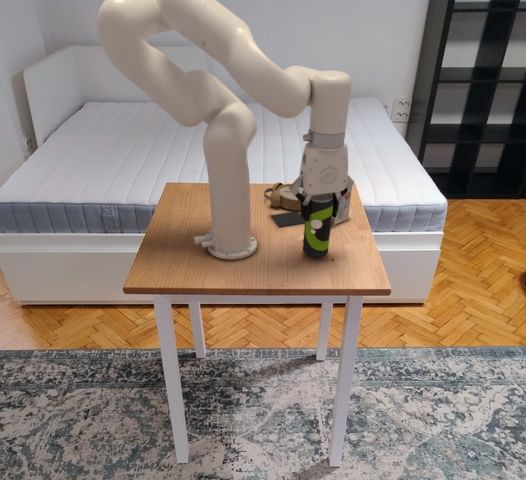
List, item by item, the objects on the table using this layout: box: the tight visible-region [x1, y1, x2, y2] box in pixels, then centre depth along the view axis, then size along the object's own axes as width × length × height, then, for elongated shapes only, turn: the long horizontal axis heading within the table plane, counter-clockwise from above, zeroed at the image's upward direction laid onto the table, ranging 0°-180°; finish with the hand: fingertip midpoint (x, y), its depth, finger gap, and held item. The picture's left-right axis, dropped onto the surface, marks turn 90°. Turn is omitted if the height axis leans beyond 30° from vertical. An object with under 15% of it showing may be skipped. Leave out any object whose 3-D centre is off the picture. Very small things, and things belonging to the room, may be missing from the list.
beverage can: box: [302, 193, 334, 260], centre depth 119 cm, size 6×6×15 cm
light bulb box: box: [331, 185, 353, 227], centre depth 135 cm, size 11×7×11 cm, turn 129°
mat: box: [270, 210, 305, 228], centre depth 139 cm, size 8×7×1 cm
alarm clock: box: [263, 181, 303, 212], centre depth 146 cm, size 11×5×15 cm
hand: (318, 216), depth 117 cm, fingers closed on beverage can, 6 cm apart
